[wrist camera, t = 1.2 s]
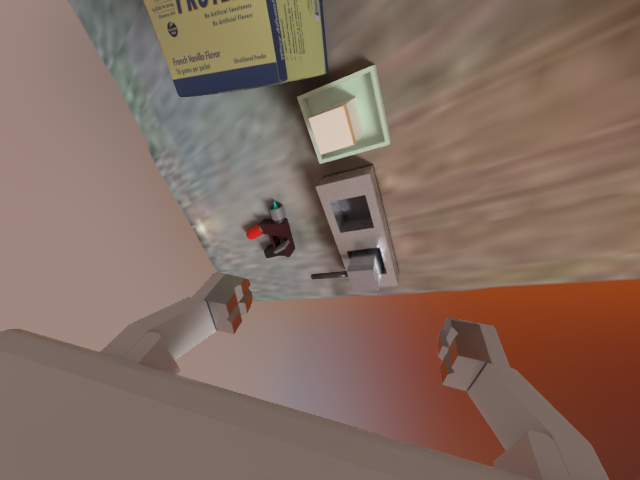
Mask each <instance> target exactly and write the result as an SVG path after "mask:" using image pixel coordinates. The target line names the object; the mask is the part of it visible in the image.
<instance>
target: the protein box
mask: <svg viewBox="0 0 640 480" xmlns="http://www.w3.org/2000/svg"><path fill="white" fill-rule="evenodd" d="M143 1H144V3H145V6H146V8H147V11H148V13H149V16H150V18H151V21H152V24H153V27H154V29H155V32H156V35H157V38H158V40H159V43H160V46H161V48H162V51H163V54H164V56H165V59H166V62H167V65H168V68H169V70H170V73H171V76H172V79H173V82H174V85H175V87H176V90H177V93H178V95H179V96H180V97H191V96H201V95H210V94H218V93H227V92H234V91H241V90H248V89H254V88H259V87H265V86H271V85H276V84H281V83H286V82H291V81H296V80H302V79H307V78H311V77H315V76H320V75H324V74H328V63H327V52H326V41H325V29H324V18H323V6H322V0H143Z"/></svg>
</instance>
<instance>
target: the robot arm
mask: <svg viewBox="0 0 640 480" xmlns="http://www.w3.org/2000/svg"><path fill="white" fill-rule="evenodd" d="M249 287H250V281H249V279H246V278H242V277H238V276H233V275H229V274H223V273H219V272H216V273H214V274H213V275H212V276H211V277H210V278H209V279H208V280H207V281H206V282H205V284H204V285H203V286H202V287H201V288H200V289H199V290H198V291H197V292H196V294H195V295H194V296H193V297H192V298H191V297H188V298H186V299H183V300H181V301H179V302H177V303H175V304H173V305H171V306H169V307H166V308H164V309H162V310H160V311H157V312H155V313H153V314H151V315H149V316H147V317H144V318H143V319H140V320H138V321H136V322H134V323H132V324H129V325H128V326H127V327H126V328H125V329H124V330H123V331H122V332H121V333H120V334H119V335H118V336H117V337H116V338H115V339H114V340H112V342H111V343H109V344H108V345H107V346H106V347H105V348H104V349H103V350H102V351H101V352H97V351H94V350H90V349H87V348H83V347H80V346H76V345H73V344H70V343H66V342H63V341H59V340H56V339H53V338H49V337H46V336H42V335H39V334H36V333H32V332H29V331H26V330H22V329H10V330H5V331H2V332H0V480H609V478H608V476H607V474H606V473H605V471H604V469H603V467H602V465H601V463H600V461H599V459H598V457H597V455H596V453H595V451H594V449H593V447H592V445H591V444H590V443H589V442H588V441H587V440H586V439H585V438H584V437H583V436H582V435H581V434H580V433H579V432H578V431H577V430H576V429H575V428H574V427H573V426H572V425H571V424H570V423H569V422H568V421H567V420H566V419H565V418H564V417H563V416H562V415H561V414H560V413H559V412H558V411H557V410H556V409H555V408H554V407H553V406H552V405H551V404H550V403H549V402H548V401H547V400H546V399H545V398H544V397H543V396H542V395H541V394H540V393H538V391H537V390H536V389H534V387H532V386H531V384H530V383H529V382H527V381H526V380H525V379H524V378H523V377H522V376H521V375H520V374H519V373H518V372H517V371H516V370H515V369H512V368H510V366H509V364H508V361H507V359H506V356H505V353H504V351H503V348H502V345H501V343H500V340H499V338H498V335H497V332H496V330H495V328H494V327H493V326H491V325H486V324H480V323H475V322H470V321H465V320H459V319H454V318H447V319H446V320H445V322H444V328H445V329H444V330H442V331H440V334H439V336H438V342H437V352H438V357H439V358H440V359H441V360H442V363H441V365H440V374H441V380H442V384H443V385H445V386H449V387H453V388H457V389H460V390H464V391H468V392H467V393H468V395H469V396H470V398H471V399H472V401H473V402H474V404H475V405H476V407H477V408H478V410H479V411H480V412H481V414H482V415H483V417H484V418H485V420H486V421H487V423H488V424H489V426H490V427H491V429H492V430H493V432H494V433H495V435H496V436H497V438H498V439H499V441H500V442H501V444H502V445H503V447H504V448H505V450H506V451H505V452H504V453H503V454H502V455H501V456H500V457H499V458H497V459H496V460H495V461H494V462H493V466H494V467H490V466H487V465H483V464H480V463H476V462H473V461H470V460H466V459H463V458H459V457H456V456H452V455H449V454H446V453H442V452H438V451H435V450H432V449H429V448H425V447H422V446H418V445H415V444H411V443H408V442H405V441H401V440H397V439H394V438H391V437H388V436H384V435H381V434H377V433H374V432H370V431H367V430H363V429H360V428H357V427H353V426H350V425H347V424H343V423H340V422H336V421H333V420H329V419H326V418H322V417H319V416H316V415H312V414H309V413H305V412H302V411H299V410H295V409H292V408H289V407H285V406H282V405H278V404H275V403H271V402H268V401H264V400H261V399H258V398H254V397H251V396H247V395H244V394H241V393H237V392H234V391H230V390H227V389H224V388H220V387H217V386H213V385H210V384H206V383H203V382H199V381H196V380H193V379H189V378H186V377H182V376H179V375H178V374H179V373H180V369H179V367H178V365H177V363H176V362H175V360H176V359H177V358H179V357H180V356H182V355H183V354H185V353H186V352H187V351H189V350H190V349H192V348H193V347H194V346H196V345H197V344H199V343H200V342H202V341H203V340H204V339H206V338H207V337H209V336H210V335H212V334H213V333H214V332H216V330H218V331H224V332H228V333H232V334H234V333H235V332H236V330H237V328H238V327H239V325H240V324H241V322H242V318H241V316H243V315H245V314H246V313H248V311H249V309H250V307H251V304H252V298H253V296H252V292H251V291H250V290H249V289H248V288H249Z"/></svg>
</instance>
